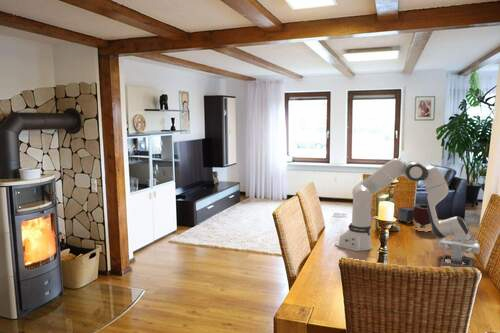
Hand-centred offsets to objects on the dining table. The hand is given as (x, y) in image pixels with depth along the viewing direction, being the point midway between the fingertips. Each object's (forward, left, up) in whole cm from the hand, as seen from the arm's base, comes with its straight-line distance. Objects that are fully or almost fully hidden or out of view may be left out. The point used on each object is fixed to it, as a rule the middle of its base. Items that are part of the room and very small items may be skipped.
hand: (457, 250), depth 210 cm
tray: (0, +1, -9) cm, 10 cm away
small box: (-44, +86, -10) cm, 97 cm away
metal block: (0, +1, -8) cm, 9 cm away
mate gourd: (-29, +68, -10) cm, 74 cm away
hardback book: (-54, +61, -10) cm, 82 cm away
